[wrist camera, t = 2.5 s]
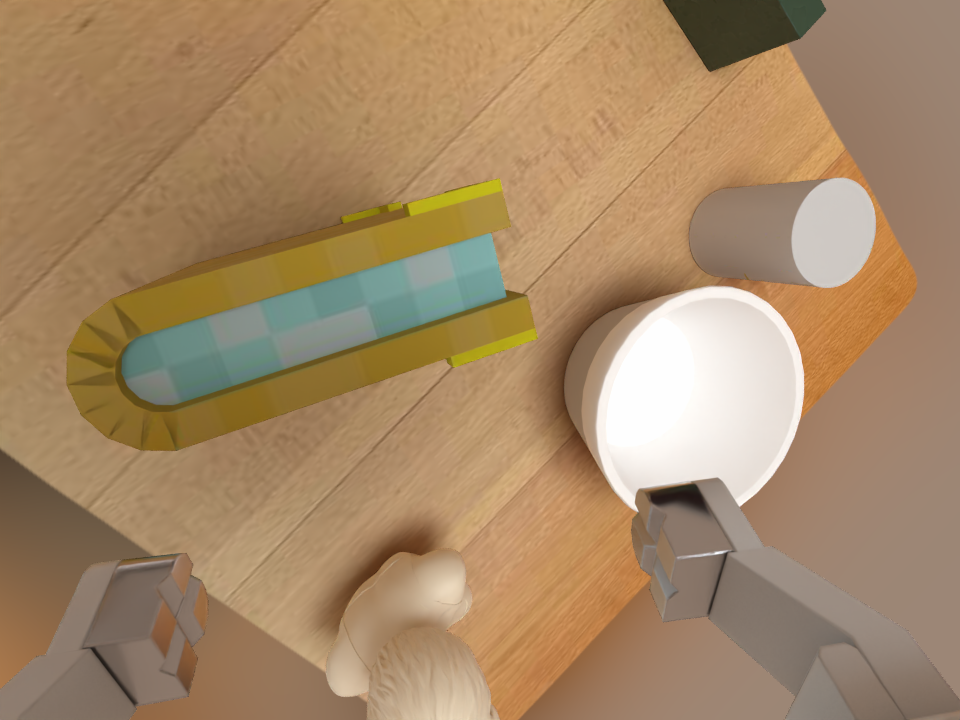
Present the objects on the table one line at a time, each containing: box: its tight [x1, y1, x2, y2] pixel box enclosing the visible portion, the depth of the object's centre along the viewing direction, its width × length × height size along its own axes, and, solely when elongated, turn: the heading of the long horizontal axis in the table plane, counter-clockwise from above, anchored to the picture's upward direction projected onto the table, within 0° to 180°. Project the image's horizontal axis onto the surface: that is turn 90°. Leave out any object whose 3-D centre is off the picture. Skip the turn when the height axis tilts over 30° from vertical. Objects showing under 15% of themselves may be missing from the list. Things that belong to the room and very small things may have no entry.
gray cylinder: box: [689, 178, 876, 288], centre depth 52 cm, size 8×8×12 cm
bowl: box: [564, 286, 804, 513], centre depth 52 cm, size 19×19×11 cm
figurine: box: [326, 549, 500, 720], centre depth 45 cm, size 14×9×20 cm
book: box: [67, 178, 538, 451], centre depth 35 cm, size 17×7×25 cm, turn 105°
